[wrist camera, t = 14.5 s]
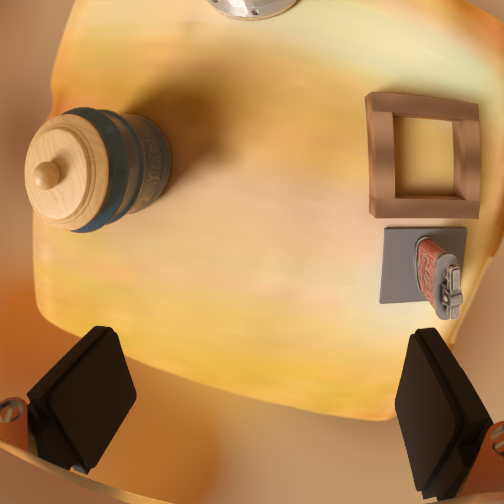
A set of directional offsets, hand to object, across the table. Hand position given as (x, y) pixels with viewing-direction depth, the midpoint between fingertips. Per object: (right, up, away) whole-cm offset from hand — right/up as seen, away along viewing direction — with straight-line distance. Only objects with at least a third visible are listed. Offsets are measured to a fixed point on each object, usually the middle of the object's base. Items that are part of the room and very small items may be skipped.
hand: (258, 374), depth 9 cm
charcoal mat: (+22, +2, +28) cm, 36 cm away
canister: (-16, +15, +30) cm, 37 cm away
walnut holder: (+20, +15, +24) cm, 35 cm away
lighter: (+22, +2, +28) cm, 36 cm away
